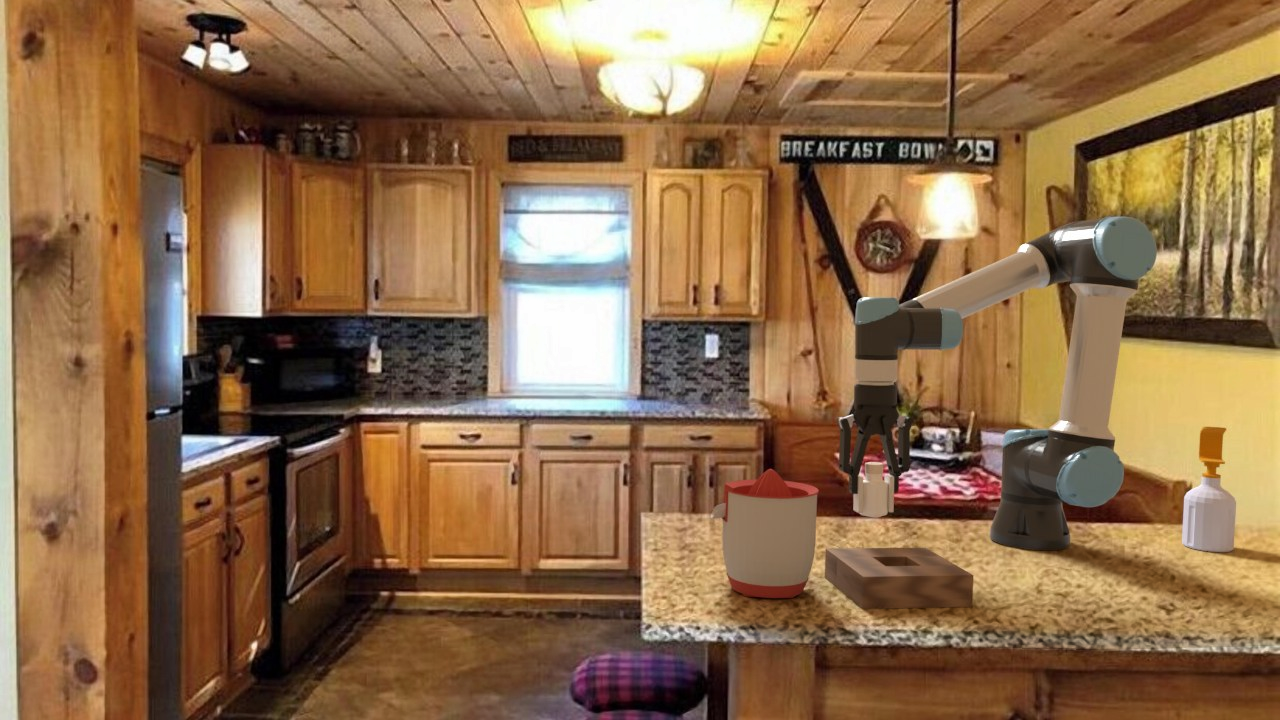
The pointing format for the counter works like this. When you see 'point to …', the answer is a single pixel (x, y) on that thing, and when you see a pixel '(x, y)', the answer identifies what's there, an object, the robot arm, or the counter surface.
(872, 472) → the pepper shaker
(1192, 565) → the counter surface
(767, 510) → the citrus juicer
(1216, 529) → the soap bottle
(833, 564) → the socket block
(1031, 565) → the counter surface
